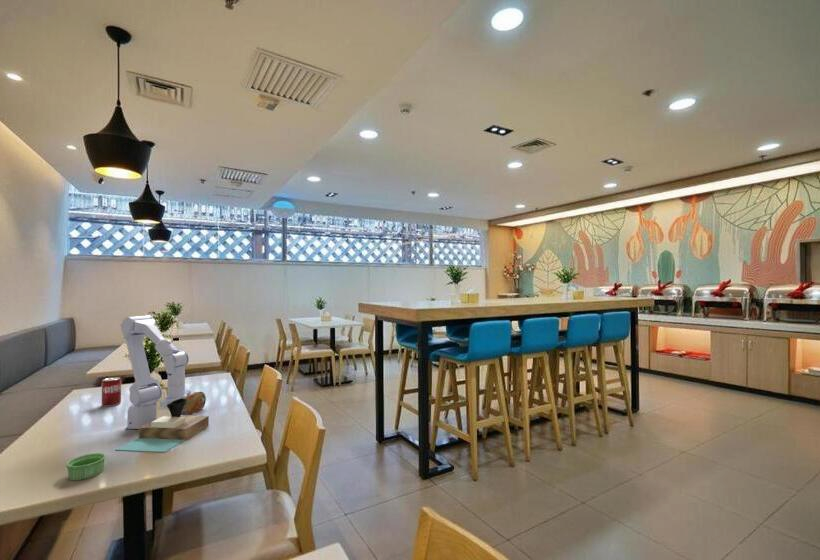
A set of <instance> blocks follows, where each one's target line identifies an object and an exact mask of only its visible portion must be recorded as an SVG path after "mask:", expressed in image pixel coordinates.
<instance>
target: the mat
mask: <svg viewBox="0 0 820 560" xmlns="http://www.w3.org/2000/svg"><path fill="white" fill-rule="evenodd" d="M185 441H186V440H181V439H154V438H139V437H137V438H135V439H134V440H132V441H129V442H128V443H125V444H123V445H121V446H120V447H118V448H116V449H115V451H116V452H117V451H120V452H121V451H122V452H143V453H146V452H147V453H166V452H168V451H170V450H172V449H174V448H175V447H176V446H178V445H179V444H182V443H183V442H185Z"/></svg>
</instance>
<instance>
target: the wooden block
mask: <svg viewBox="0 0 820 560" xmlns="http://www.w3.org/2000/svg"><path fill="white" fill-rule="evenodd" d="M163 416H164V417H172V416H171V414H164V415H162V416H160V417H157V419H159V418H161V417H163ZM180 417H185V423H183V424H181V425H180V426H178V427H176V428H155V427H151V422H149V423H147V424H145V425H143V426H141V427H139V429H138V438H154V439H181V440H185V441H186V440H189V439H190V438H191V437H194V436H195V435H196V434H198V433H199V432H201V431H203V430H205V429H206V428H207V427H209V422H210V421H209V420H210V419H209V415H194V414H191V415H181V416H180ZM157 419H156V420H157Z"/></svg>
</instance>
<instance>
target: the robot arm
mask: <svg viewBox="0 0 820 560" xmlns="http://www.w3.org/2000/svg"><path fill="white" fill-rule="evenodd" d="M120 327H121V328H120V329H121V333H122V336H123V340H125V342H126V348H127V351H128V356H129V360H130V365H131V369H132V373H133V377H134V382H133V383H132V384H131V386H130V387H129V389H128V390H129V401H130V403H131V404H130V406H129V407H128V410H127V421H126V422H127V426H126V427H125V429H127V430H128V429H129V430H130V429H132V430H139V427H141V426H143V425H145V424H147V423H149V422H152V421H154V420H156V419H158V414H157V413H158V402H159V403H160V407H167V408H168V410H169V414H170V415H171V416H172V417H180V416H181V412H182V409H183V407H184V405H185V403H186V399H183V398H186V397H187V396H190V395H191V394H192V393H191V392H192V391H191V389H189V390H188V389H186V366H187V365H188V364H189V355H188V353H187V352H186V351H184V350H181V349H178V347H176V345H175V344H174V343H173V342H172V340H171V339H170V338H164V336H163V335H162V333H161V332H160V330H159V329H158V328H157V325H156V320H155V318H154V317H153V316H152V315H151V314H146V315H137V316H125V317H124V318H123V320H122V321H121V324H120ZM145 337H147V338H148V339H150V341H152V342H153V344H155V345H154V349H155V350H156V352H157V353H158V354H159V355H160V356H161V358H163V365H164V367H165V372H166V374H167V396H166V397H164V398H163V399H162V400H160V399H161V398H162V395H163V388H162V387H161V385H160V384H159V380H158V379H156V378H154V377H152V375H151V371H150V368H149V364H148V359H147V355H146V350H145V347H144V343H143V339H144V338H145Z"/></svg>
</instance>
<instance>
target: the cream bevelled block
mask: <svg viewBox="0 0 820 560" xmlns="http://www.w3.org/2000/svg"><path fill="white" fill-rule="evenodd" d="M162 416H163V417H162ZM162 416H160V417H161V418H160V417H158V418H159V419H158V418H157V420H154V421H152V422H151V427H155V428H176V427H178V426H180V425H181V424H183V423H185V417H164V415H162Z"/></svg>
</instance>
